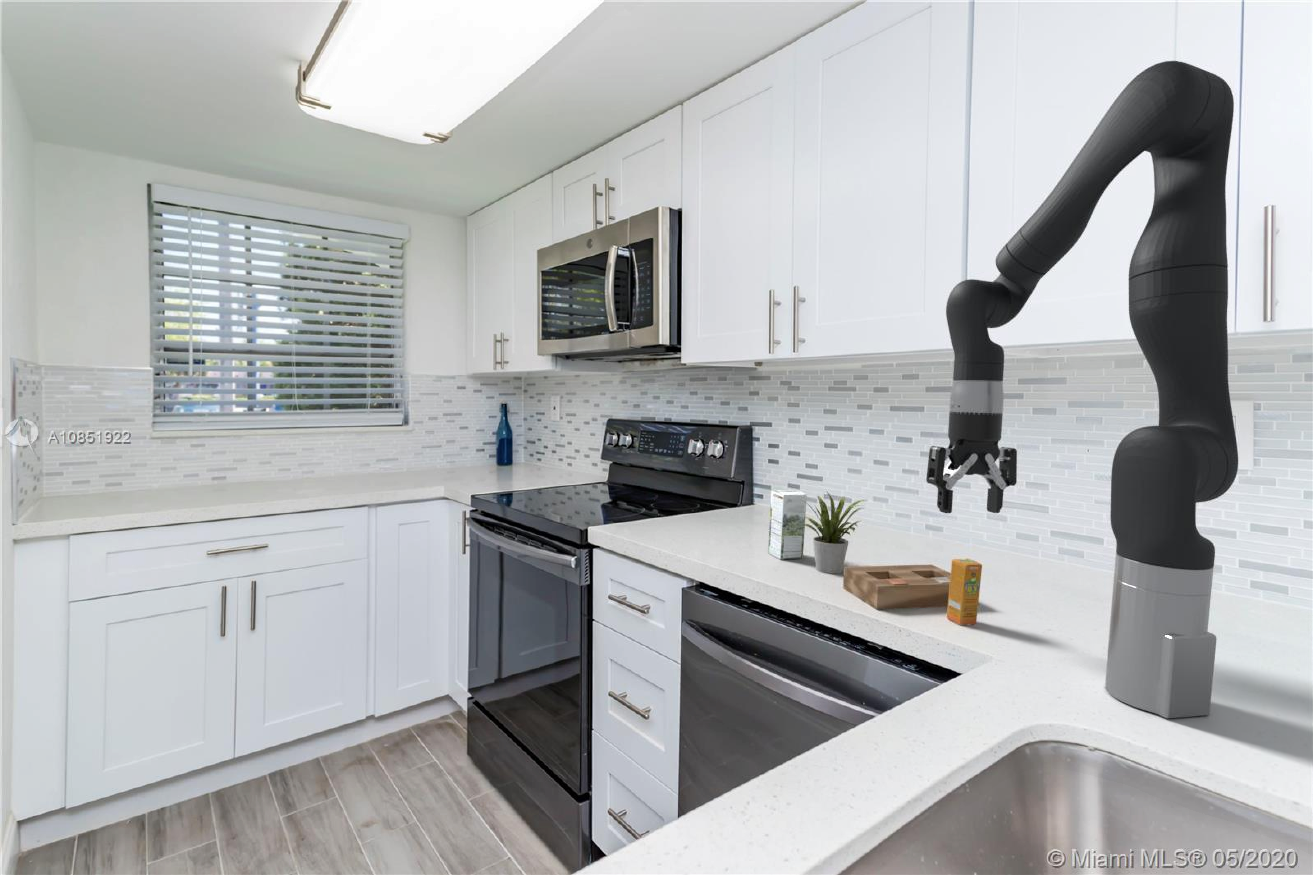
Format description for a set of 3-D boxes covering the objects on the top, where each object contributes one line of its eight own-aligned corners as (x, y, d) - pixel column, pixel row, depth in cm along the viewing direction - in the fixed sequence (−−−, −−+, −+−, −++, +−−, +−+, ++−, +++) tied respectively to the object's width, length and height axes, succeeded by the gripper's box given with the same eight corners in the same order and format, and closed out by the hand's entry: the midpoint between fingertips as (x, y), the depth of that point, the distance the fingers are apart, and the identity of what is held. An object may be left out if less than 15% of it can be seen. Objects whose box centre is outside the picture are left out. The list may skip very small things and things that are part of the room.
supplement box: (961, 626, 102) (965, 564, 101) (945, 619, 105) (949, 558, 104) (978, 625, 103) (982, 563, 102) (963, 617, 106) (967, 557, 105)
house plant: (886, 573, 131) (890, 493, 129) (845, 585, 122) (849, 499, 121) (827, 558, 142) (831, 484, 141) (786, 567, 133) (789, 489, 132)
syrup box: (790, 552, 146) (793, 488, 145) (804, 559, 141) (807, 493, 139) (767, 553, 144) (770, 489, 143) (780, 560, 139) (783, 493, 138)
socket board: (971, 605, 112) (973, 582, 112) (876, 609, 109) (878, 585, 108) (930, 585, 124) (931, 563, 123) (843, 587, 120) (844, 565, 120)
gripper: (950, 410, 96) (944, 517, 97) (1033, 412, 99) (1026, 516, 100) (920, 408, 104) (915, 508, 105) (998, 410, 106) (992, 508, 107)
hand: (969, 512), depth 102 cm, fingers open, 8 cm apart
